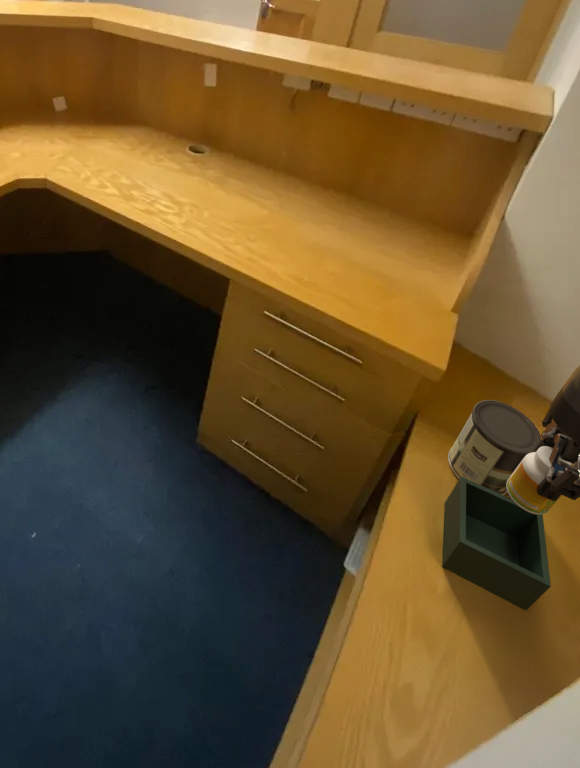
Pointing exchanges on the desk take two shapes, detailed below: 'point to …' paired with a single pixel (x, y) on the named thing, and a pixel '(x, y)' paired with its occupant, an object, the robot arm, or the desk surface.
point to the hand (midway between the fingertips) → (542, 476)
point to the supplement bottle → (531, 481)
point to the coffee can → (493, 445)
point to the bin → (495, 544)
